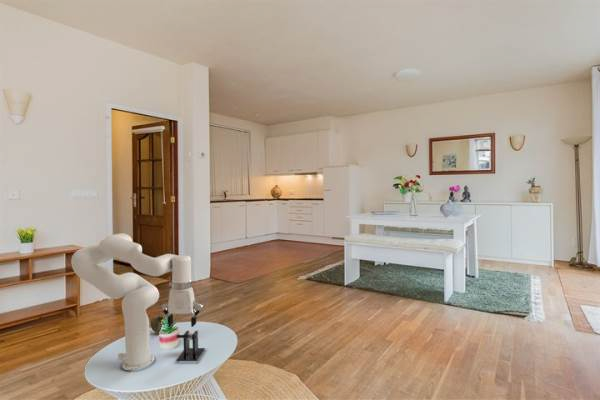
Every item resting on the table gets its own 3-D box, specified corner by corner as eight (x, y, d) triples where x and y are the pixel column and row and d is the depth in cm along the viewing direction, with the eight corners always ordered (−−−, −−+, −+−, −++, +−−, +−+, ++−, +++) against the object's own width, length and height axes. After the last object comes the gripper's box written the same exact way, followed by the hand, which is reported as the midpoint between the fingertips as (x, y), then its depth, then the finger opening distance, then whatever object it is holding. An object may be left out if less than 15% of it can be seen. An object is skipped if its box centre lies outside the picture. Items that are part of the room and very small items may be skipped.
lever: (187, 339, 141) (188, 333, 142) (176, 339, 141) (176, 333, 142) (197, 339, 152) (197, 333, 153) (186, 339, 152) (186, 333, 153)
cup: (147, 335, 175) (146, 319, 175) (158, 329, 181) (158, 315, 181) (157, 337, 172) (157, 322, 171) (169, 332, 178) (168, 317, 178)
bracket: (197, 362, 146) (196, 338, 146) (176, 362, 146) (175, 338, 146) (205, 350, 157) (204, 327, 157) (185, 350, 157) (185, 327, 157)
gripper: (157, 287, 139) (157, 328, 139) (199, 288, 138) (199, 329, 139) (165, 282, 146) (165, 321, 147) (205, 283, 146) (205, 322, 146)
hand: (182, 325), depth 143 cm, fingers open, 9 cm apart
